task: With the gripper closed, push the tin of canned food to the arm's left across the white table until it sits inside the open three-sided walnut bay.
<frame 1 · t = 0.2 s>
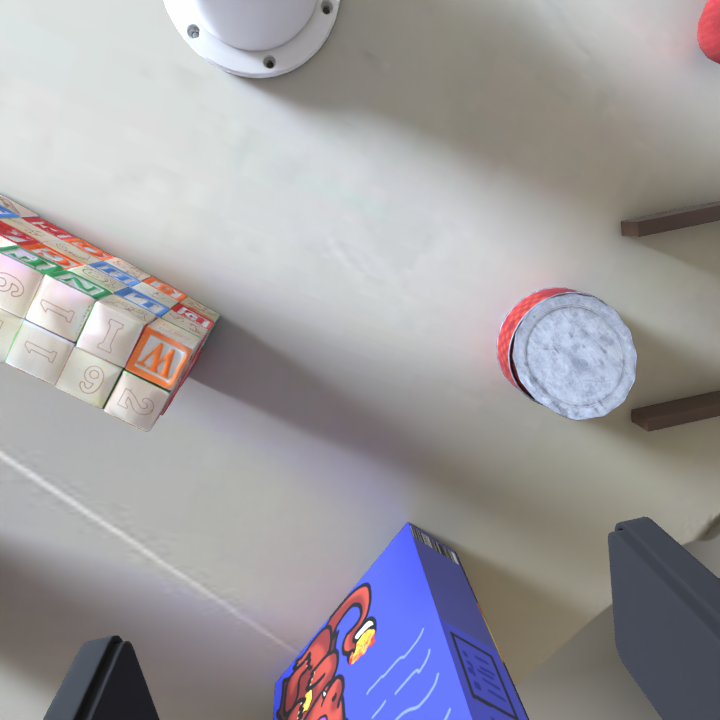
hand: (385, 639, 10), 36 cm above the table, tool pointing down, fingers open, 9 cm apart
bay: (701, 310, 49), on the table
onion: (707, 36, 43), on the table
stack of blocks: (83, 281, 43), on the table
cereal box: (363, 617, 54), on the table
canned food: (549, 342, 48), on the table
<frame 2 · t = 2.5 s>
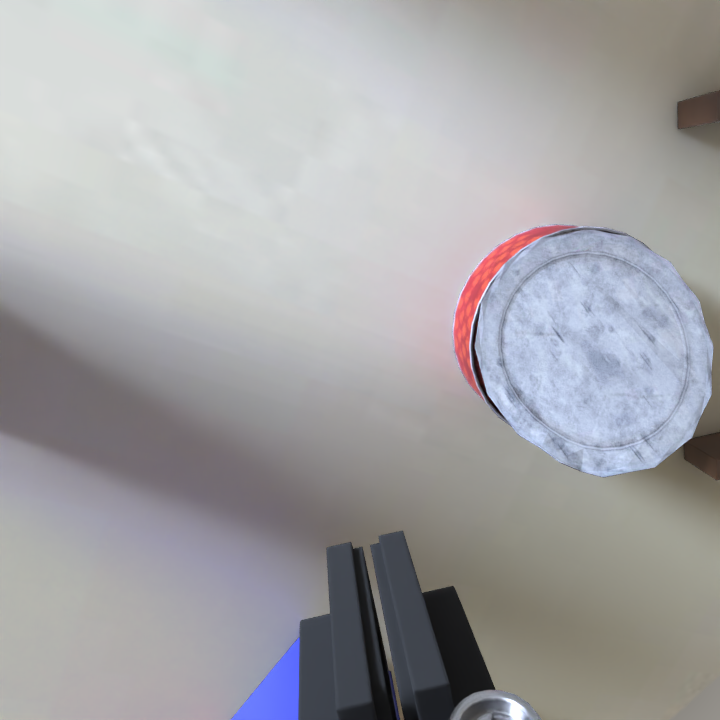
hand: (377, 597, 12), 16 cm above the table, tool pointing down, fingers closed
canned food: (546, 324, 28), on the table
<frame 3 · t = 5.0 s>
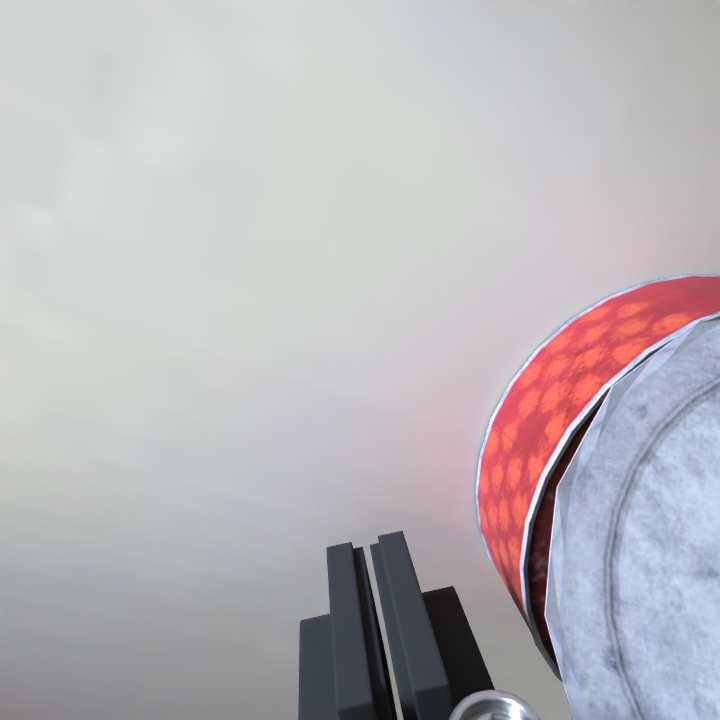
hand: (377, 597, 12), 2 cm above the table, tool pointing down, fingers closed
canned food: (660, 467, 14), on the table, touching gripper
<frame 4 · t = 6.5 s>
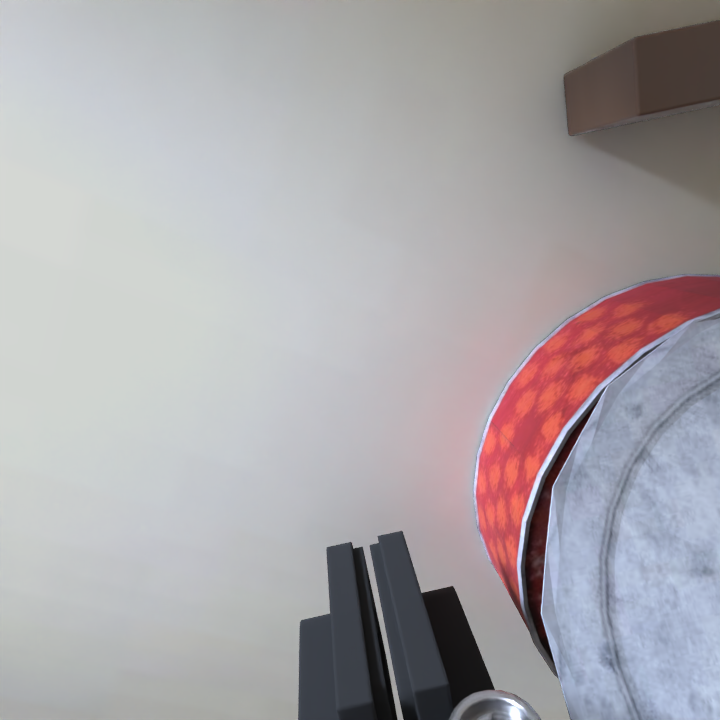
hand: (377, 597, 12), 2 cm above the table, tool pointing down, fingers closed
canned food: (657, 466, 14), on the table, touching gripper
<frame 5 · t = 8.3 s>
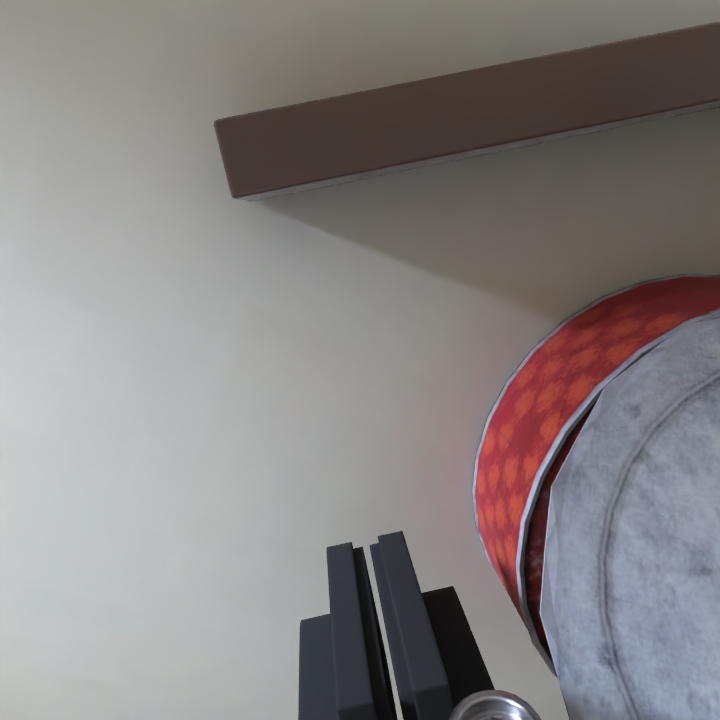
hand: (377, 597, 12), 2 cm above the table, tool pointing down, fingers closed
bay: (603, 474, 14), on the table
canned food: (656, 466, 14), on the table, touching gripper
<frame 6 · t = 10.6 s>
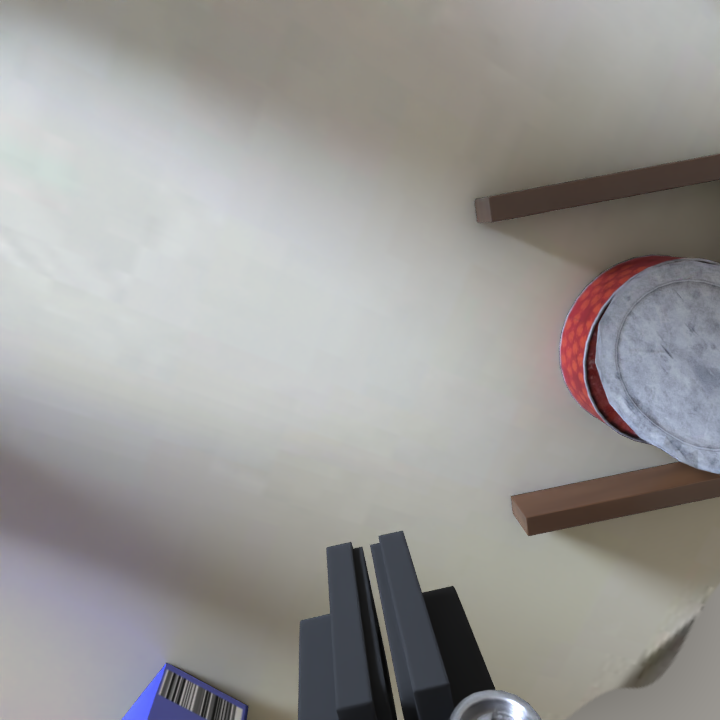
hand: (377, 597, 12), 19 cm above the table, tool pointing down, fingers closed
bay: (615, 344, 31), on the table
canned food: (640, 342, 31), on the table
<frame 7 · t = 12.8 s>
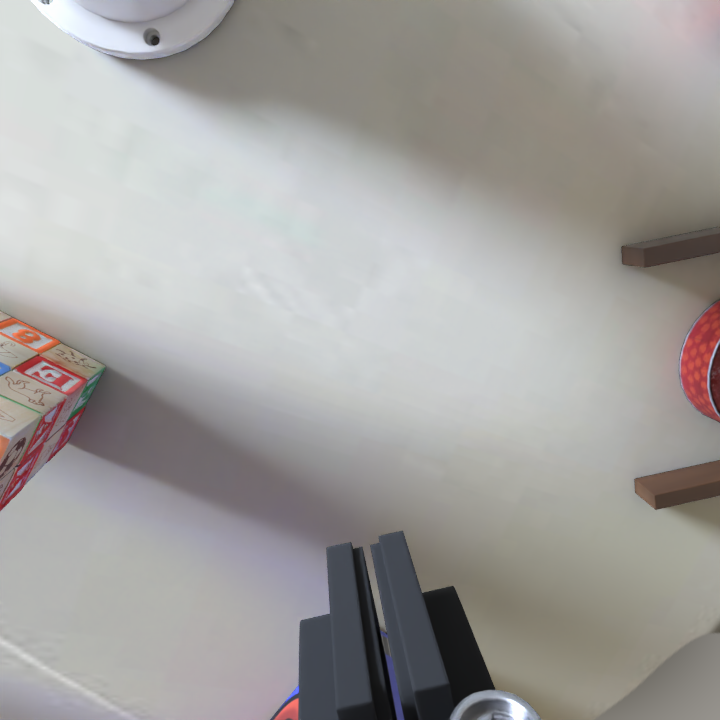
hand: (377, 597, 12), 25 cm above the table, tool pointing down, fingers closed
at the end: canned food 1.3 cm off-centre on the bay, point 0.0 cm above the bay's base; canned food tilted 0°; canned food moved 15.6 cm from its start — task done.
